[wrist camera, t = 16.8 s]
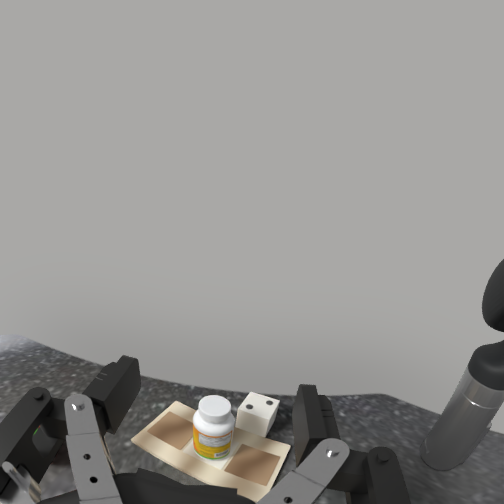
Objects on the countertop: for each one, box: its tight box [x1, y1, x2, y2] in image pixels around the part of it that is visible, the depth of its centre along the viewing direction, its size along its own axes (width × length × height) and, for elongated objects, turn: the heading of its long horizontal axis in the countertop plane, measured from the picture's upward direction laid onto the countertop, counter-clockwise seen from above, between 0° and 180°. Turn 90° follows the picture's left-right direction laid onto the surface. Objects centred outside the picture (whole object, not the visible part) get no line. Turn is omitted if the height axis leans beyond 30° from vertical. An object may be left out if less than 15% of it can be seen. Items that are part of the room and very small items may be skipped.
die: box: [235, 392, 280, 437], centre depth 38 cm, size 5×5×5 cm
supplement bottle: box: [193, 395, 235, 461], centre depth 31 cm, size 5×5×10 cm
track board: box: [131, 401, 291, 503], centre depth 32 cm, size 20×12×1 cm, turn 68°
